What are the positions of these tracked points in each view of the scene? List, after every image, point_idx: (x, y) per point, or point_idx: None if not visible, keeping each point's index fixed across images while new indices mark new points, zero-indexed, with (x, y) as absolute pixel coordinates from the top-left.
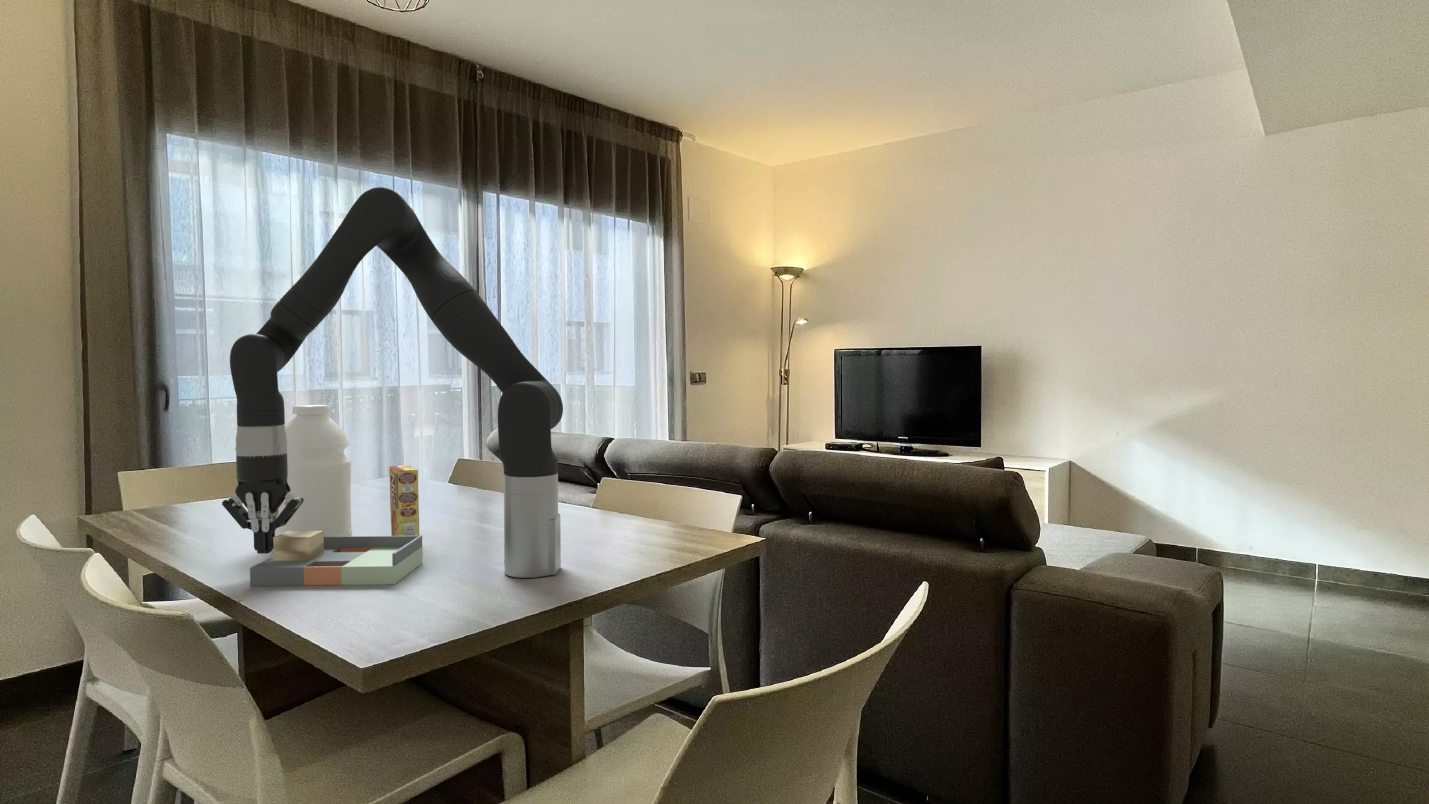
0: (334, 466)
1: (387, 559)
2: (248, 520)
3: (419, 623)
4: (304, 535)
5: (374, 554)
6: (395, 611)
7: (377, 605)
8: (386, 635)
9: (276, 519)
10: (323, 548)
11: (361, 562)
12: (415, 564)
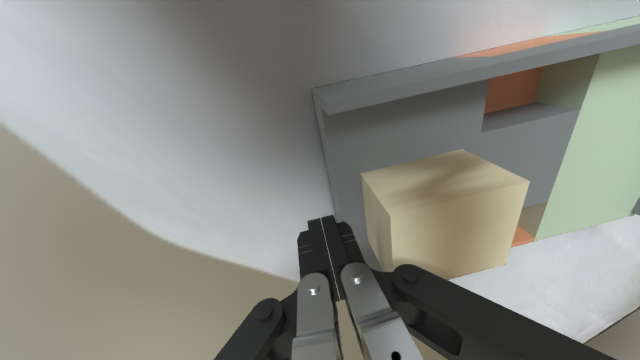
0: None
1: (628, 173)
2: (281, 352)
3: (604, 298)
4: (483, 256)
5: (601, 133)
6: (583, 281)
7: (563, 273)
8: (573, 323)
9: (423, 339)
10: (473, 156)
11: (570, 206)
12: None
